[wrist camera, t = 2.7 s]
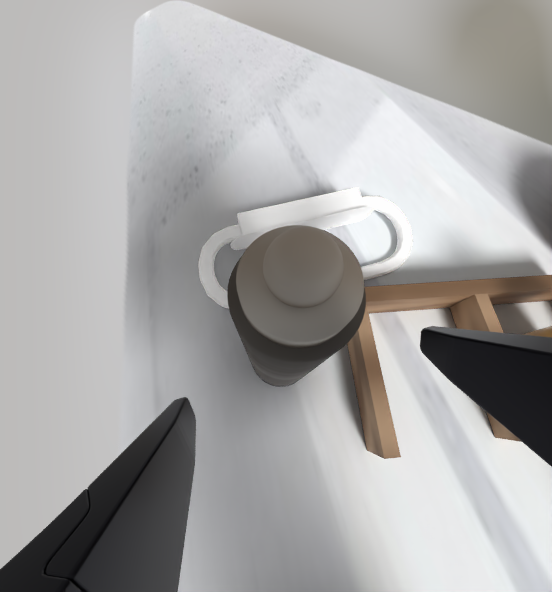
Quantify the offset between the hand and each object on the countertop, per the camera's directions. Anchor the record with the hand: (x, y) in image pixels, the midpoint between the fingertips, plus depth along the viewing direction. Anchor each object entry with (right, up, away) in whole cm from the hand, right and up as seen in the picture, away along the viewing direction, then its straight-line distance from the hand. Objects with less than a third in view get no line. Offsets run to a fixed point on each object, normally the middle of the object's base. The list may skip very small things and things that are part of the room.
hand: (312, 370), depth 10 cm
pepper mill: (-1, -2, +11) cm, 11 cm away
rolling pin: (+2, +7, +15) cm, 17 cm away
